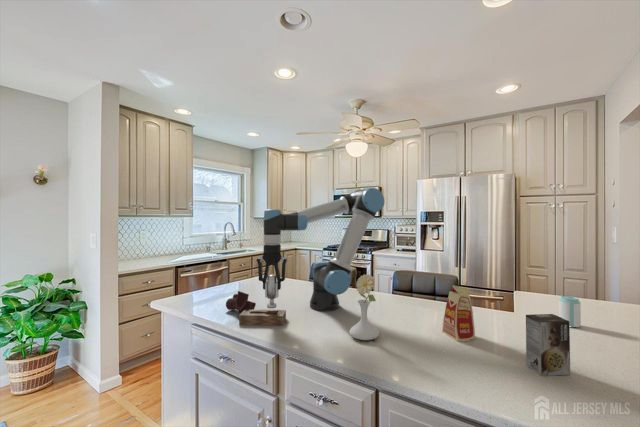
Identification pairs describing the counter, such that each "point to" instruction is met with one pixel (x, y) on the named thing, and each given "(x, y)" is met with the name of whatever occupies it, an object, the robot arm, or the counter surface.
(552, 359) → the grey cardboard box
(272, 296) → the steel peg
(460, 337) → the milk carton
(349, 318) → the counter surface
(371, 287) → the flower in vase
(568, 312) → the can
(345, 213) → the robot arm
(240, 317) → the keyhole block
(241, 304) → the dark brown lumpy piece
